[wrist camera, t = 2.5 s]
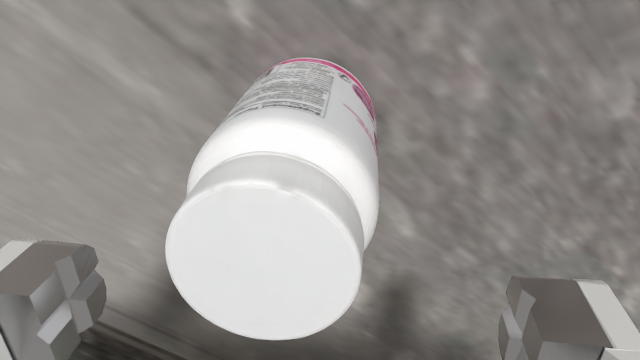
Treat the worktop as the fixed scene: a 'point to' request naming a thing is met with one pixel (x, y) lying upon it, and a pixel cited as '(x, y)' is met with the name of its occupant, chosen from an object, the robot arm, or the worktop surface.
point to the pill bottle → (280, 205)
